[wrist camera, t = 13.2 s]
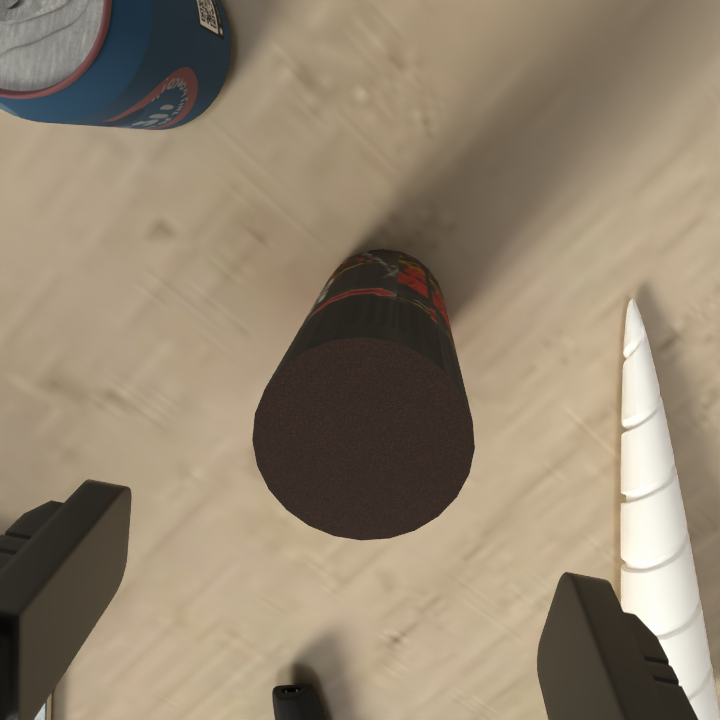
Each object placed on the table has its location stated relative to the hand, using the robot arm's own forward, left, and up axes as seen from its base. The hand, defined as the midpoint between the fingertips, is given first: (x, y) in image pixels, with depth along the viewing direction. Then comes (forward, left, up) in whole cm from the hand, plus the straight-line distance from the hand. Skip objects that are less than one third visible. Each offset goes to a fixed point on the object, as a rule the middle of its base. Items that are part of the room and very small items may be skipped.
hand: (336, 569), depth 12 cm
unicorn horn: (+9, +15, -21) cm, 28 cm away
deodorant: (0, 0, -21) cm, 21 cm away
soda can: (-10, -12, -21) cm, 26 cm away
